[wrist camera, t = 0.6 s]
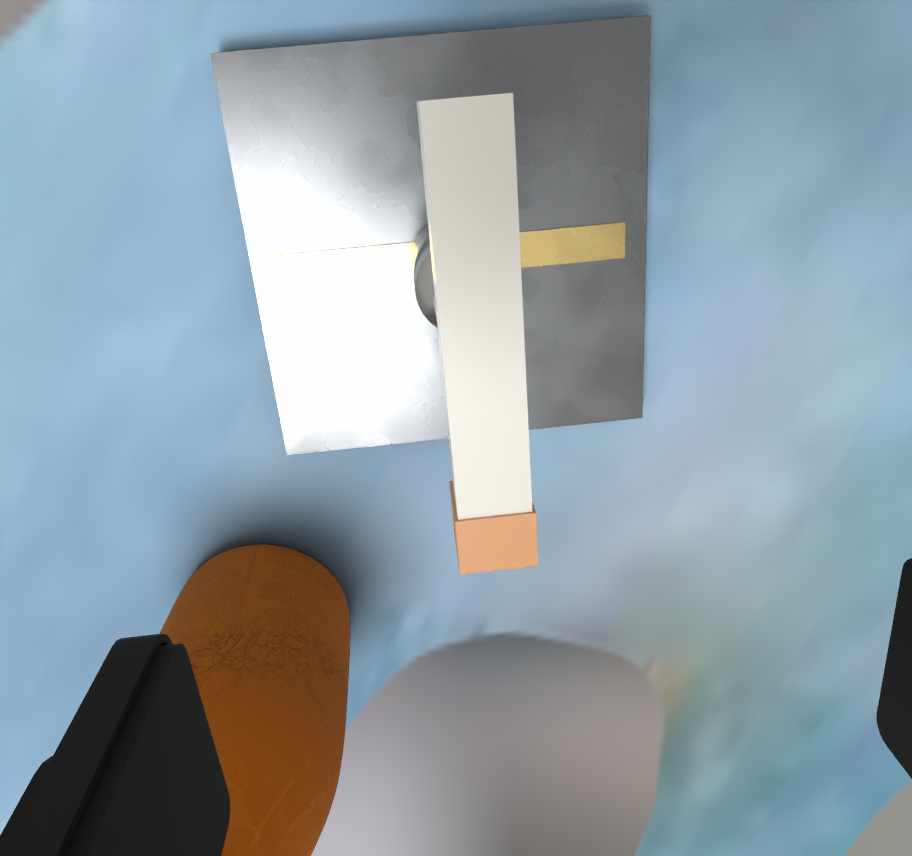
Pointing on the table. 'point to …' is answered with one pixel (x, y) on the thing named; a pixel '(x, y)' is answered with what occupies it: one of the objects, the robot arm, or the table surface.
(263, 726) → the wine bottle
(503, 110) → the t handle
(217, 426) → the table surface
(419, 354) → the post base
